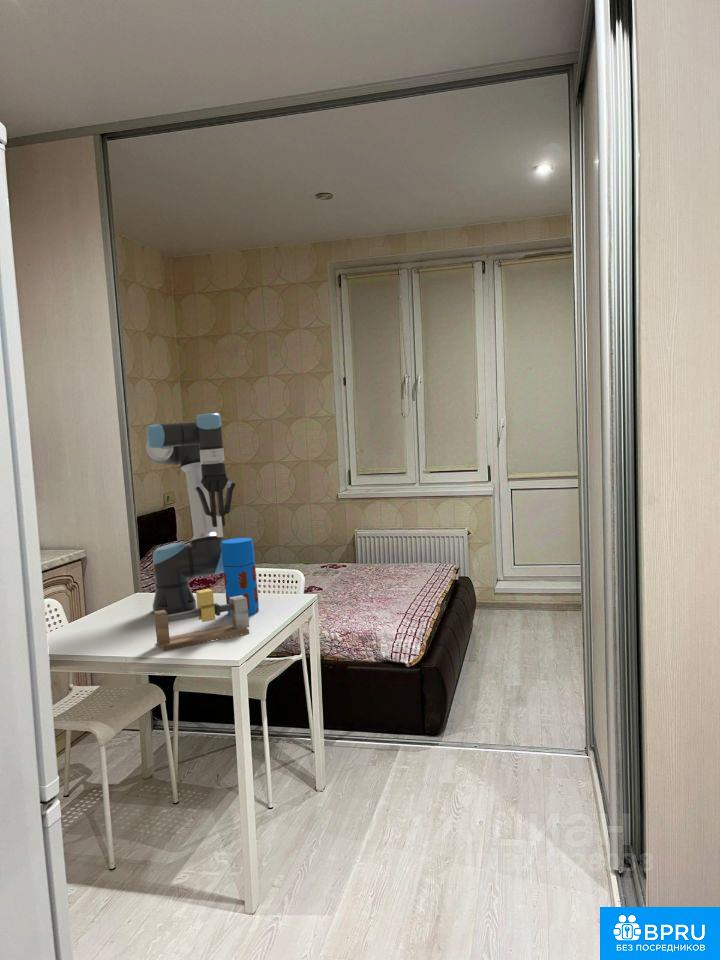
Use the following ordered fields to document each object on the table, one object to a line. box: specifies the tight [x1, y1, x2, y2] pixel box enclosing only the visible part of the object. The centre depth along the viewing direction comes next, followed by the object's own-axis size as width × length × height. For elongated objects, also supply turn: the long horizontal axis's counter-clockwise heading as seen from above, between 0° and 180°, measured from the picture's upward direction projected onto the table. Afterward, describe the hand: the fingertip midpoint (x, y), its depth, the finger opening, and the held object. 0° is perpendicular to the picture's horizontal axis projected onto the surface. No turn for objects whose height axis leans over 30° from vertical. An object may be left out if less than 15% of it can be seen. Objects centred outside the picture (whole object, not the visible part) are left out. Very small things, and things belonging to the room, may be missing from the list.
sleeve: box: [195, 588, 216, 623], centre depth 229 cm, size 4×4×9 cm
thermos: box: [221, 537, 260, 617], centre depth 257 cm, size 11×11×25 cm
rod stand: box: [153, 595, 250, 651], centre depth 229 cm, size 10×28×10 cm, turn 117°
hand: (219, 536), depth 239 cm, fingers closed
